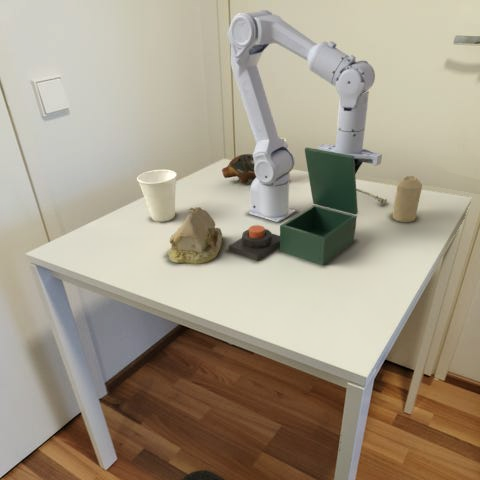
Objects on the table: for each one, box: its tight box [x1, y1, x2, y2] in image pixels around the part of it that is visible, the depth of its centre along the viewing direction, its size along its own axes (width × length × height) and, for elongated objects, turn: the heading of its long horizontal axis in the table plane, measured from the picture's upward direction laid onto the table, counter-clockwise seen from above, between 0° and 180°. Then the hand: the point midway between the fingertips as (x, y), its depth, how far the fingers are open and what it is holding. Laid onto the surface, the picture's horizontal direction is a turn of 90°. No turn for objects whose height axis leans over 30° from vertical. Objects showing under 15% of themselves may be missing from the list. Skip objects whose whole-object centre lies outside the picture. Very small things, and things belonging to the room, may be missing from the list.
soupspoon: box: [356, 187, 388, 206], centre depth 125 cm, size 22×3×7 cm
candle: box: [392, 175, 423, 223], centre depth 109 cm, size 6×6×10 cm
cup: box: [136, 169, 178, 223], centre depth 115 cm, size 10×10×11 cm
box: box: [279, 204, 358, 267], centre depth 100 cm, size 14×11×6 cm
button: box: [248, 224, 266, 239], centre depth 101 cm, size 4×4×2 cm
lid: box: [304, 147, 359, 216], centre depth 97 cm, size 14×11×1 cm
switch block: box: [228, 228, 280, 262], centre depth 102 cm, size 8×10×3 cm
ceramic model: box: [167, 206, 223, 265], centre depth 100 cm, size 14×11×10 cm
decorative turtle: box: [221, 153, 256, 185], centre depth 135 cm, size 10×15×8 cm, turn 101°
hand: (344, 191), depth 103 cm, fingers closed
